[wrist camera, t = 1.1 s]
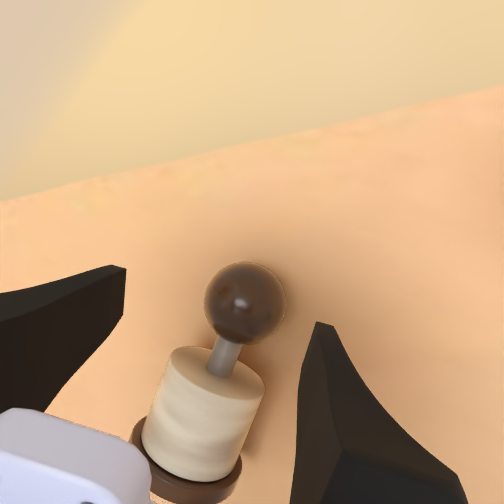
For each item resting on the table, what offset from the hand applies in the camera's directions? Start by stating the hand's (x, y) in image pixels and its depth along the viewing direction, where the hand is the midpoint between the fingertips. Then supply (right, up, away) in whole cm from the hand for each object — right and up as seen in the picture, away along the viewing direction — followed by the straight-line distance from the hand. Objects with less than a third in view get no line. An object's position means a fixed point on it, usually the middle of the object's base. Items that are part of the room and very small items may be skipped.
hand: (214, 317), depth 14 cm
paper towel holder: (-3, -10, +10) cm, 14 cm away
